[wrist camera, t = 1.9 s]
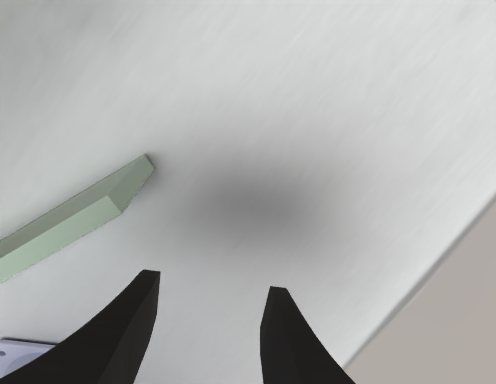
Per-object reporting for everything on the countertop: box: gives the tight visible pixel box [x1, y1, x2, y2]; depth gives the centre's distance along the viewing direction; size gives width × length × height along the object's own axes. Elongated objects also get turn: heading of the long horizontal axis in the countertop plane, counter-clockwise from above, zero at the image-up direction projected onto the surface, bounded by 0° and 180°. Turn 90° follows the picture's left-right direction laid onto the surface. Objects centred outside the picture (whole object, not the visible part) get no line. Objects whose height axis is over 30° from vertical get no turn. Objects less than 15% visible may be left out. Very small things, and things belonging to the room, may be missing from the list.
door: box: [0, 154, 155, 283], centre depth 19 cm, size 16×1×6 cm, turn 120°
